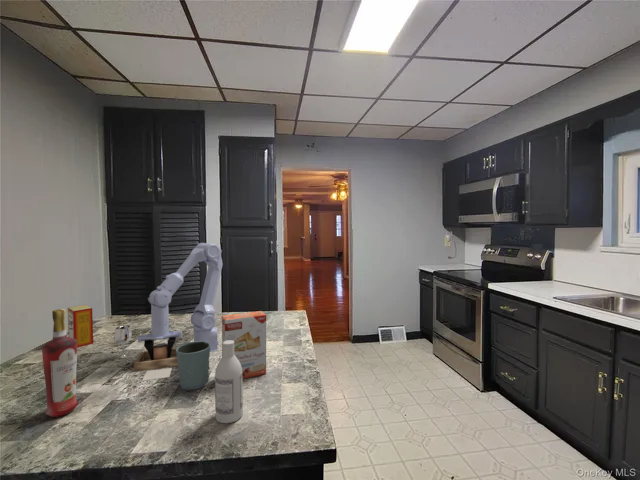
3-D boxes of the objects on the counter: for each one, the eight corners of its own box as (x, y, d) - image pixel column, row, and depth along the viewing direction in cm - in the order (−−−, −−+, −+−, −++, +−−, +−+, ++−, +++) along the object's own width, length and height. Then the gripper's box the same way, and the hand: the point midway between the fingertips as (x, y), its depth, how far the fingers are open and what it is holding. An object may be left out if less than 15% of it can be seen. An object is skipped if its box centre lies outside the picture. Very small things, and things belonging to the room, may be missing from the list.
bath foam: (233, 405, 86) (232, 335, 86) (248, 415, 82) (247, 341, 81) (210, 417, 81) (209, 342, 80) (225, 428, 76) (224, 349, 76)
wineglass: (123, 361, 115) (122, 330, 115) (110, 360, 116) (110, 329, 116) (135, 355, 121) (135, 325, 120) (123, 354, 122) (122, 324, 121)
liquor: (69, 402, 88) (66, 305, 87) (85, 407, 85) (82, 308, 84) (38, 416, 81) (34, 312, 80) (54, 423, 79) (50, 315, 78)
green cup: (217, 378, 102) (216, 342, 102) (195, 393, 92) (194, 354, 92) (192, 373, 105) (192, 339, 105) (169, 388, 96) (168, 350, 95)
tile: (172, 369, 108) (171, 367, 108) (169, 378, 102) (169, 376, 102) (146, 372, 106) (146, 371, 106) (142, 382, 99) (141, 380, 99)
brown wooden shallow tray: (184, 354, 121) (184, 346, 121) (181, 366, 111) (181, 357, 111) (141, 360, 116) (141, 351, 116) (134, 372, 106) (134, 363, 106)
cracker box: (225, 384, 98) (224, 319, 97) (221, 376, 104) (221, 315, 103) (267, 374, 105) (266, 314, 104) (262, 367, 110) (261, 309, 109)
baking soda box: (68, 342, 134) (67, 306, 134) (86, 338, 139) (85, 304, 139) (74, 348, 128) (73, 310, 128) (93, 343, 133) (92, 307, 133)
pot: (169, 358, 117) (169, 342, 117) (167, 363, 112) (167, 346, 112) (154, 360, 115) (154, 343, 115) (152, 365, 110) (151, 348, 110)
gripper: (135, 327, 107) (136, 366, 107) (180, 323, 112) (181, 360, 112) (139, 322, 114) (140, 358, 114) (182, 318, 118) (183, 352, 119)
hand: (161, 358), depth 114 cm, fingers closed on pot, 5 cm apart
